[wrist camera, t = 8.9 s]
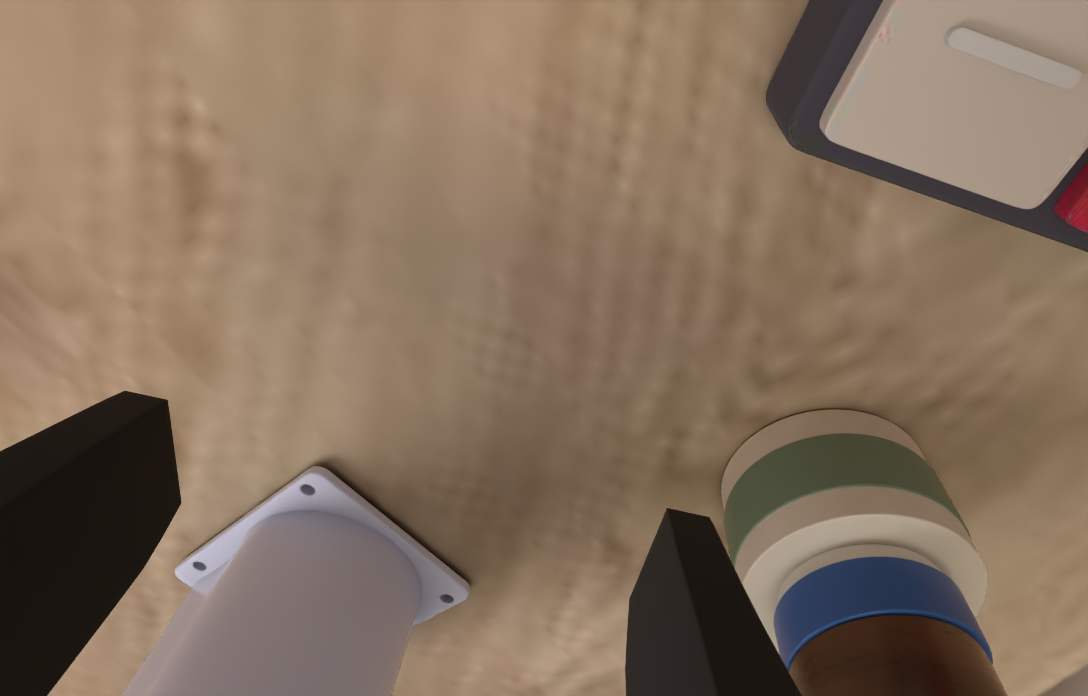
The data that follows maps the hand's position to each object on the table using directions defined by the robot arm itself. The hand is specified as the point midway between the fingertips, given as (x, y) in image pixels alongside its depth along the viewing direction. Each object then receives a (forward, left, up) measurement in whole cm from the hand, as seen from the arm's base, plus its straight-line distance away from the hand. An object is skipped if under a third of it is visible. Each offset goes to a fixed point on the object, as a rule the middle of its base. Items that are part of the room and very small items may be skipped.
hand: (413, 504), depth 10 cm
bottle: (+2, -13, -10) cm, 17 cm away
